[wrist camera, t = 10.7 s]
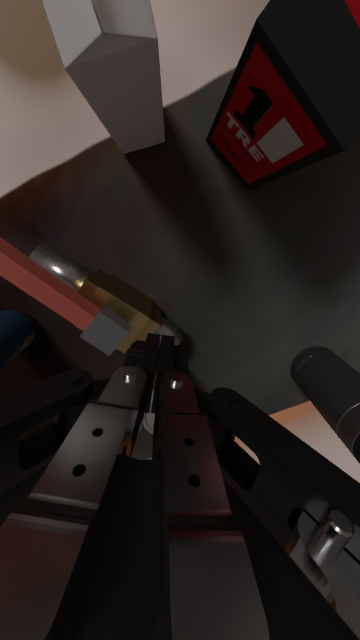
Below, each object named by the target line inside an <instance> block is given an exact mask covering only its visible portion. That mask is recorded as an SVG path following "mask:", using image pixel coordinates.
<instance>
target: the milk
mask: <svg viewBox="0 0 360 640" xmlns="http://www.w3.org/2000/svg"><path fill="white" fill-rule="evenodd" d="M42 2H43V5H44V8H45V11H46V14H47V17H48V20H49V23H50V26H51V29H52V32H53V35H54V38H55V41H56V44H57V47H58V50H59V53H60V56H61V59H62V62H63V65H64V68H65V70H66V71H67V73H68V74H69V76H70V77H71V78H72V80H73V81H74V83H75V84H76V86H77V87H78V89H79V90H80V92H81V93H82V94H83V96H84V97H85V99H86V100H87V101H88V103H89V105H90V106H91V108H92V109H93V110H94V111H95V113H96V115H97V116H98V117H99V119H100V120H101V122H102V123H103V125H104V126H105V128H106V129H107V131H108V132H109V134H110V135H111V137H112V138H113V139H114V141H115V142H116V144H117V145H118V147H119V148H120V150H121V151H122V152H123V154H126V153H129V152H133V151H136V150H139V149H143V148H146V147H150V146H153V145H156V144H160V143H163V142H165V132H164V118H163V105H162V93H161V78H160V64H159V50H158V38H157V33H156V28H155V23H154V18H153V13H152V8H151V3H150V0H42Z"/></svg>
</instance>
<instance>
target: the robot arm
mask: <svg viewBox="0 0 360 640" xmlns="http://www.w3.org/2000/svg"><path fill="white" fill-rule="evenodd" d="M160 337H161V335H160V334H153V333H148V334H147V338H146V341H140V340H136V341H135V342H134V343H132V344H131V346H130V349H129V351H128V354H127V356H126V359H125V361H124V364H123V366H122V367H121V368H119V369H117V370H116V371H115V372H114V374H113V376H112V377H111V378H109V379H103V380H93V377H92V375H91V374H90V373H89V372H87V371H84V370H69V371H65V372H62V373H60V374H57V375H54V376H52V377H49V378H46V379H44V380H41V381H38V382H36V383H33V384H31V385H28V386H25V387H23V388H20V389H17V390H15V391H12V392H9V393H7V394H4V395H1V396H0V640H360V483H359V482H357V481H356V480H355V479H353V478H352V477H351V476H349V475H348V474H347V473H345V472H344V471H342V470H341V469H340V468H338V467H337V466H336V465H334V464H333V463H332V462H330V461H329V460H328V459H326V458H325V457H324V456H322V455H321V454H320V453H318V452H317V451H316V450H314V449H313V448H311V447H310V446H309V445H307V444H306V443H305V442H303V441H302V440H301V439H299V438H298V437H297V436H295V435H294V434H293V433H291V432H290V431H289V430H287V429H286V428H285V427H283V426H282V425H281V424H279V423H278V422H277V421H275V420H274V419H272V418H271V417H270V416H268V415H267V414H266V413H264V412H263V411H262V410H260V409H259V408H258V407H256V406H255V405H254V404H252V403H251V402H250V401H248V400H247V399H246V398H244V397H243V396H242V395H240V394H239V393H237V392H236V391H234V390H232V389H229V388H216V389H214V390H213V391H212V392H211V394H209V393H206V392H203V391H201V390H199V389H197V388H196V387H194V386H193V382H192V380H191V378H190V377H189V370H188V358H187V351H186V349H185V348H184V347H183V346H179V345H174V341H175V336H168V335H162V337H161V344H160ZM159 344H160V351H159ZM158 351H159V358H158ZM157 359H158V365H157ZM156 366H157V372H156ZM155 372H156V379H155ZM291 376H292V378H293V379H294V380H295V382H296V383H297V384H298V386H299V387H300V388H301V389H302V391H303V392H304V393H305V395H306V396H307V397H308V398H309V400H310V401H311V402H312V403H313V405H314V406H315V407H316V409H317V410H318V411H319V412H320V414H321V415H322V416H323V418H324V419H325V420H326V421H327V423H328V424H329V425H330V426H331V428H332V429H333V430H334V432H335V433H336V434H337V435H338V437H339V438H340V439H341V440H342V442H343V443H344V444H345V445H346V447H347V448H348V449H349V451H350V452H351V453H352V454H353V456H354V457H355V458H356V459H357V461H358V462H359V463H360V373H359V372H358V371H356V370H355V369H354V368H353V367H351V366H350V365H349V364H348V363H346V362H345V361H344V360H343V359H341V358H340V357H339V356H338V355H336V354H335V353H334V352H332V351H331V350H330V349H328V348H325V347H313V348H309V349H307V350H305V351H303V352H302V353H300V354H299V355H298V356H297V357H296V358H295V359H294V361H293V363H292V365H291ZM154 379H155V386H154ZM153 386H154V393H153V401H152V408H151V413H153V414H155V419H154V426H153V448H152V459H149V460H138V459H135V458H133V455H134V451H135V447H136V444H137V440H138V437H139V433H140V430H141V424H142V421H143V419H144V414H145V413H149V412H150V405H151V399H152V392H153ZM54 415H55V421H54V422H53V423H51V424H49V425H47V426H45V427H43V428H41V429H39V430H37V431H36V432H34V433H32V434H30V435H28V436H26V437H24V438H22V439H20V440H19V441H17V440H18V438H19V436H20V435H21V434H22V433H23V432H24V431H25V430H26V429H28V428H30V427H32V426H34V425H36V424H38V423H40V422H42V421H44V420H46V419H48V418H50V417H52V416H54ZM235 436H237V437H238V438H239V439H240V440H241V441H242V442H243V443H244V444H245V445H246V446H248V447H249V448H250V449H251V450H252V451H253V452H254V453H255V454H256V456H257V457H258V459H259V462H260V465H259V464H258V463H257V462H256V461H255V460H254V459H253V458H252V457H251V456H250V455H249V454H248V453H247V452H246V451H244V450H243V449H242V448H241V447H240V446H239V445H238V444H237V443H236V442H235V441H234V439H235Z"/></svg>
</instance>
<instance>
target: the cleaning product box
mask: <svg viewBox="0 0 360 640" xmlns="http://www.w3.org/2000/svg"><path fill="white" fill-rule="evenodd" d="M359 134H360V0H270V1H269V3H268V4H267V5H266V7H265V9H264V10H263V11H262V12H261V14H260V15H259V17H258V18H257V20H256V22H255V24H254V27H253V29H252V31H251V34H250V36H249V38H248V41H247V43H246V46H245V48H244V51H243V53H242V55H241V58H240V60H239V62H238V65H237V67H236V70H235V72H234V74H233V77H232V79H231V81H230V84H229V86H228V89H227V91H226V93H225V96H224V98H223V101H222V103H221V105H220V108H219V110H218V112H217V115H216V117H215V120H214V122H213V124H212V127H211V129H210V132H209V134H208V136H207V139H206V141H207V142H208V144H209V145H210V146H211V147H212V148H213V149H214V150H215V152H216V153H217V154H218V155H219V156H220V157H221V159H222V160H223V161H224V162H225V163H226V164H227V166H228V167H229V168H230V169H231V170H232V171H233V172H234V174H235V175H236V176H237V177H238V178H239V179H240V181H241V182H242V183H243V184H244V185H245V186H246V188H247V189H248V190H251V189H253V188H256V187H258V186H260V185H263V184H265V183H268V182H270V181H272V180H275V179H277V178H279V177H282V176H284V175H287V174H289V173H291V172H294V171H296V170H298V169H301V168H303V167H305V166H308V165H310V164H313V163H315V162H317V161H320V160H322V159H324V158H327V157H329V156H332V155H334V154H336V153H339V152H341V151H343V150H345V149H346V147H347V146H348V145H349V144H350V143H351V142H352V141H353V140H354V139H355V138H356V137H357V136H358V135H359Z"/></svg>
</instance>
